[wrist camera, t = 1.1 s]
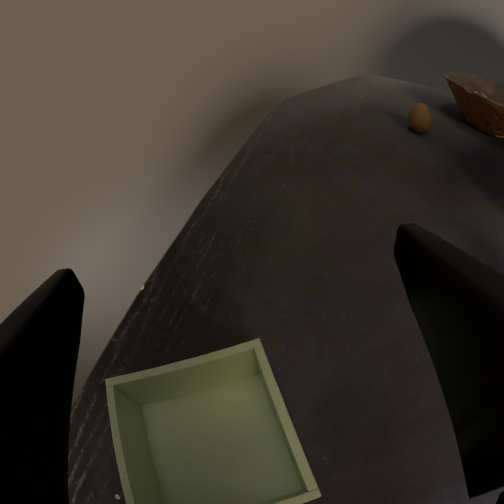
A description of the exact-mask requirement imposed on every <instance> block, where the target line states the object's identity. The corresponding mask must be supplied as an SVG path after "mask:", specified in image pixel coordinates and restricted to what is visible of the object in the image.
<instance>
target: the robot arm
mask: <svg viewBox="0 0 504 504" xmlns="http://www.w3.org/2000/svg"><path fill="white" fill-rule="evenodd" d="M394 257H395V260H396V263H397V266H398V269H399V272H400V275H401V278H402V281H403V284H404V287H405V290H406V294H407V297H408V300H409V303H410V305H411V308H412V310H413V313H414V315H415V318H416V320H417V323H418V325H419V327H420V330H421V333H422V335H423V338H424V340H425V343H426V345H427V348H428V351H429V354H430V356H431V359H432V362H433V365H434V367H435V370H436V373H437V376H438V379H439V382H440V385H441V388H442V391H443V394H444V398H445V401H446V404H447V407H448V411H449V414H450V418H451V421H452V425H453V428H454V432H455V435H456V440H457V444H458V448H459V453H460V457H461V461H462V466H463V470H464V475H465V480H466V485H467V490H468V495H469V498H474V497H476V496H479V495H482V494H485V493H488V492H490V491H493V490H496V489H498V488H501V487H503V486H504V276H503V275H501V274H500V273H498V272H497V271H495V270H494V269H492V268H490V267H489V266H487V265H486V264H484V263H482V262H481V261H479V260H477V259H476V258H474V257H472V256H471V255H469V254H467V253H466V252H464V251H462V250H461V249H459V248H457V247H456V246H454V245H452V244H450V243H449V242H447V241H445V240H443V239H442V238H440V237H438V236H436V235H434V234H433V233H431V232H429V231H427V230H425V229H423V228H422V227H420V226H418V225H416V224H414V223H409V224H402V225H400V226H399V228H398V231H397V236H396V241H395V246H394ZM84 297H85V296H84V290H83V288H82V286H81V284H80V283H79V281H78V279H77V277H76V275H75V274H74V272H73V271H72V270H71V269H69V268H67V269H60V270H57V271H56V272H55V273H54V274H53V275H52V276H51V277H49V278H48V279H47V280H46V281H45V282H44V283H43V284H42V285H41V286H40V287H38V288H37V289H36V290H35V291H34V292H33V293H32V294H31V295H30V296H29V297H28V298H27V299H26V300H24V302H22V304H20V305H19V306H18V307H17V308H16V309H15V310H14V311H13V312H12V313H11V314H10V315H9V316H8V317H7V318H6V319H5V320H4V321H3V322H2V323H1V324H0V504H69V494H68V452H69V431H70V417H71V406H72V396H73V388H74V380H75V372H76V365H77V358H78V352H79V345H80V337H81V325H82V315H83V306H84V305H83V304H84ZM496 504H504V491H503V492H502V493H500V495H499V498H498V500H497V502H496Z"/></svg>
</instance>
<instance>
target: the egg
mask: <svg viewBox="0 0 504 504" xmlns="http://www.w3.org/2000/svg"><path fill="white" fill-rule="evenodd" d="M408 122H409V125H410V127H411V128H412V129H413V130H414V131H415V132H417V133H423V132H425V131H426V130H428V129H429V127H430V125H431V114H430V111H429V109H428V107H427V106H426V105H425V104H424V103H417V104H416V105H414V106H413V107H412V109H411V110H410V113H409V116H408Z"/></svg>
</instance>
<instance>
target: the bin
mask: <svg viewBox="0 0 504 504" xmlns="http://www.w3.org/2000/svg"><path fill="white" fill-rule="evenodd" d="M105 382H106V392H107V401H108V409H109V417H110V424H111V431H112V437H113V443H114V449H115V455H116V460H117V465H118V470H119V475H120V479H121V484H122V488H123V492H124V496H125V500H126V504H302V503H305V502H308V501H311V500H314V499H316V498H319V497H321V493H320V491H319V489H318V486H317V483H316V481H315V478H314V476H313V474H312V471H311V469H310V466H309V464H308V461H307V459H306V456H305V454H304V451H303V449H302V446H301V444H300V441H299V439H298V436H297V434H296V431H295V429H294V426H293V424H292V421H291V419H290V416H289V414H288V411H287V409H286V406H285V403H284V401H283V398H282V396H281V393H280V391H279V388H278V385H277V383H276V380H275V378H274V375H273V372H272V370H271V367H270V365H269V362H268V359H267V357H266V354H265V351H264V349H263V346H262V343H261V341H260V339H259V338H258V339H255V340H251V341H248V342H245V343H242V344H239V345H235V346H232V347H229V348H225V349H222V350H219V351H215V352H212V353H208V354H205V355H201V356H198V357H194V358H190V359H187V360H183V361H179V362H175V363H172V364H168V365H164V366H160V367H156V368H152V369H148V370H143V371H139V372H135V373H130V374H126V375H122V376H117V377H112V378H108V379H105Z"/></svg>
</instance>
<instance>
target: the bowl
mask: <svg viewBox="0 0 504 504" xmlns="http://www.w3.org/2000/svg"><path fill="white" fill-rule="evenodd" d="M445 77H446V79H447V82H448V84H449V87H450V89H451V90H452V93H453V95H454V97H455V99H456V101H457V103H458V105H459V107H460V110H461V112H462V114H463V115H464V117H465V118H466V119H467V121H468V122H469V123H471V124H472V125H473V126H475V127H476V128H478V129H479V130H481V131H483V132H485V133H487V134H489V135H492V136H494V137H498V138H504V86H502V85H499V84H496V83H494V82H492V81H490V80H488V79H485V78H482V77H479V76H476V75H473V74H469V73H464V72H457V71H451V72H446V73H445Z"/></svg>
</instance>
